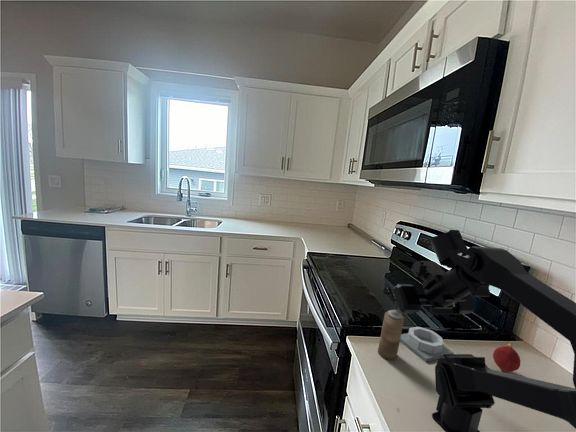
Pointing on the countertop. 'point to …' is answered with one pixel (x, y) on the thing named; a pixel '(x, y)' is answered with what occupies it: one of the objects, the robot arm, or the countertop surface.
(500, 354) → the onion
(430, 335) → the dock
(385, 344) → the mill
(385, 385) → the countertop surface
